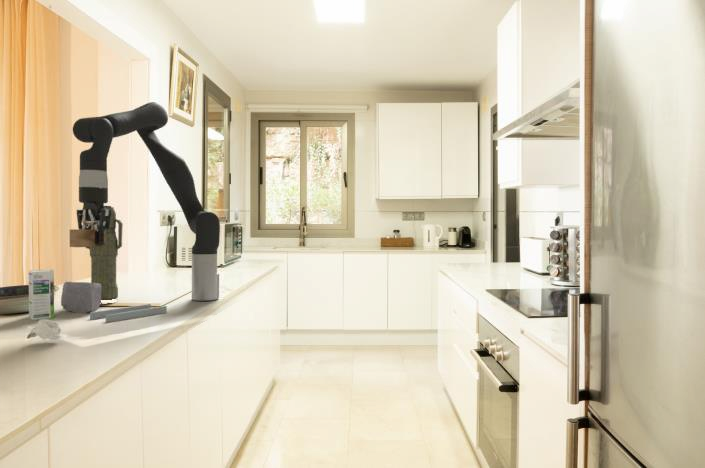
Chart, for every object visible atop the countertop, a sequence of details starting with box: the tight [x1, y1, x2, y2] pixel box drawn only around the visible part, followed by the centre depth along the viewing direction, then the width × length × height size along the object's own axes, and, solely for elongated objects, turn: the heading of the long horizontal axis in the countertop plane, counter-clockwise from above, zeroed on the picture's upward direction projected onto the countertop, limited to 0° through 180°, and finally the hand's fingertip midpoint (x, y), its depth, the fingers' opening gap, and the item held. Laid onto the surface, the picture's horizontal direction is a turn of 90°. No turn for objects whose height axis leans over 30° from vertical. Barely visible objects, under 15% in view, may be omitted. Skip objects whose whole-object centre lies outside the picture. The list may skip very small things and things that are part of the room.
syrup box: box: [28, 269, 55, 321], centre depth 146 cm, size 6×6×14 cm
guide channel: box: [89, 303, 168, 323], centre depth 151 cm, size 20×9×2 cm, turn 149°
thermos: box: [85, 205, 124, 300], centre depth 172 cm, size 9×12×35 cm
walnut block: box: [69, 228, 106, 248], centre depth 141 cm, size 8×5×5 cm, turn 139°
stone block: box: [60, 281, 101, 314], centre depth 156 cm, size 12×5×10 cm, turn 84°
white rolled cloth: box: [26, 319, 62, 341], centre depth 119 cm, size 8×7×5 cm
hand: (93, 244), depth 142 cm, fingers closed on walnut block, 5 cm apart
